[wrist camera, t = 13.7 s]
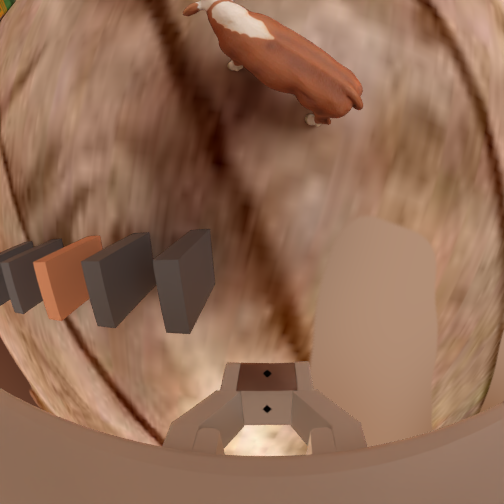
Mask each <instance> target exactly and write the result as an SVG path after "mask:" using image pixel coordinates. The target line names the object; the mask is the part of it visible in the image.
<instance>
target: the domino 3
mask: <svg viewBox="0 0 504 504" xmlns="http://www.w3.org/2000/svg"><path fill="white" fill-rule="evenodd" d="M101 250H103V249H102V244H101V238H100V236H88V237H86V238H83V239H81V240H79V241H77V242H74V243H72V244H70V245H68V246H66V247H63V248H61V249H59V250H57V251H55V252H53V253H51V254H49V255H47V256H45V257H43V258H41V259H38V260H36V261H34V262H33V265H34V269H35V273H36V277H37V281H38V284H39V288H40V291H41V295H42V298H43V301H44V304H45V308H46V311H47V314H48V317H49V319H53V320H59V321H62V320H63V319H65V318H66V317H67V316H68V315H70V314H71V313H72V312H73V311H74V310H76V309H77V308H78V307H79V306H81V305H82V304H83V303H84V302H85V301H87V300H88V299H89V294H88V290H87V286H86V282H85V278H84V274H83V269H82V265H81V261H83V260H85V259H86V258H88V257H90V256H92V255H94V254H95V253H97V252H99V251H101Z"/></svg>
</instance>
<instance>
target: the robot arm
mask: <svg viewBox="0 0 504 504" xmlns="http://www.w3.org/2000/svg"><path fill="white" fill-rule="evenodd" d="M267 424H268V425H291V426H292V428H293V429H294V430H295V431H296V432H297V434H298V435H299V436H300V437H301V438H302V440H303V441H304V442H305V443H306V444H307V445H308V448H307V454H306V455H295V456H237V455H225V453H224V448H225V447H226V446H227V444H228V443H229V442H230V441H231V440H232V439H233V438H234V437H235V436H236V435H237V434H238V433H239V431H240V430H241V429H242V428H243V427H244V425H267ZM0 504H504V402H502V403H500V404H498V405H496V406H494V407H491V408H489V409H487V410H485V411H483V412H481V413H478V414H476V415H474V416H471V417H469V418H466V419H464V420H461V421H459V422H456V423H454V424H451V425H448V426H445V427H442V428H439V429H436V430H433V431H430V432H427V433H424V434H420V435H417V436H413V437H410V438H406V439H402V440H398V441H394V442H390V443H386V444H381V445H376V446H371V447H367V444H366V441H365V437H364V434H363V430H362V427H361V423H360V422H359V421H358V420H357V419H355V418H354V417H353V416H351V415H349V413H347V412H346V411H345V410H343V409H342V408H340V407H339V406H338V405H337V404H335V403H334V402H333V401H331V400H330V399H329V398H327V397H326V396H325V395H324V394H323V393H321V392H320V391H319V390H314V389H313V383H312V377H311V372H310V366H309V362H308V361H304V362H295V363H227V364H226V367H225V372H224V376H223V380H222V384H221V389H220V391H215V392H214V393H212V394H211V395H210V396H208V397H207V398H205V399H204V400H203V401H201V402H200V403H199V404H197V405H196V406H195V407H193V408H192V409H190V410H189V411H188V412H186V413H185V414H183V415H182V416H180V417H179V418H178V419H176V420H175V421H173V422H172V423H171V425H170V428H169V431H168V433H167V436H166V438H165V441H164V444H163V446H162V447H161V446H155V445H151V444H146V443H141V442H137V441H133V440H129V439H125V438H121V437H117V436H114V435H110V434H107V433H103V432H100V431H97V430H94V429H91V428H88V427H85V426H82V425H79V424H76V423H73V422H71V421H68V420H66V419H63V418H60V417H58V416H56V415H53V414H51V413H48V412H46V411H44V410H42V409H39V408H37V407H35V406H33V405H31V404H29V403H27V402H25V401H22V400H21V399H19V398H17V397H15V396H13V395H11V394H9V393H8V392H6V391H4V390H3V389H1V388H0Z"/></svg>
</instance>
